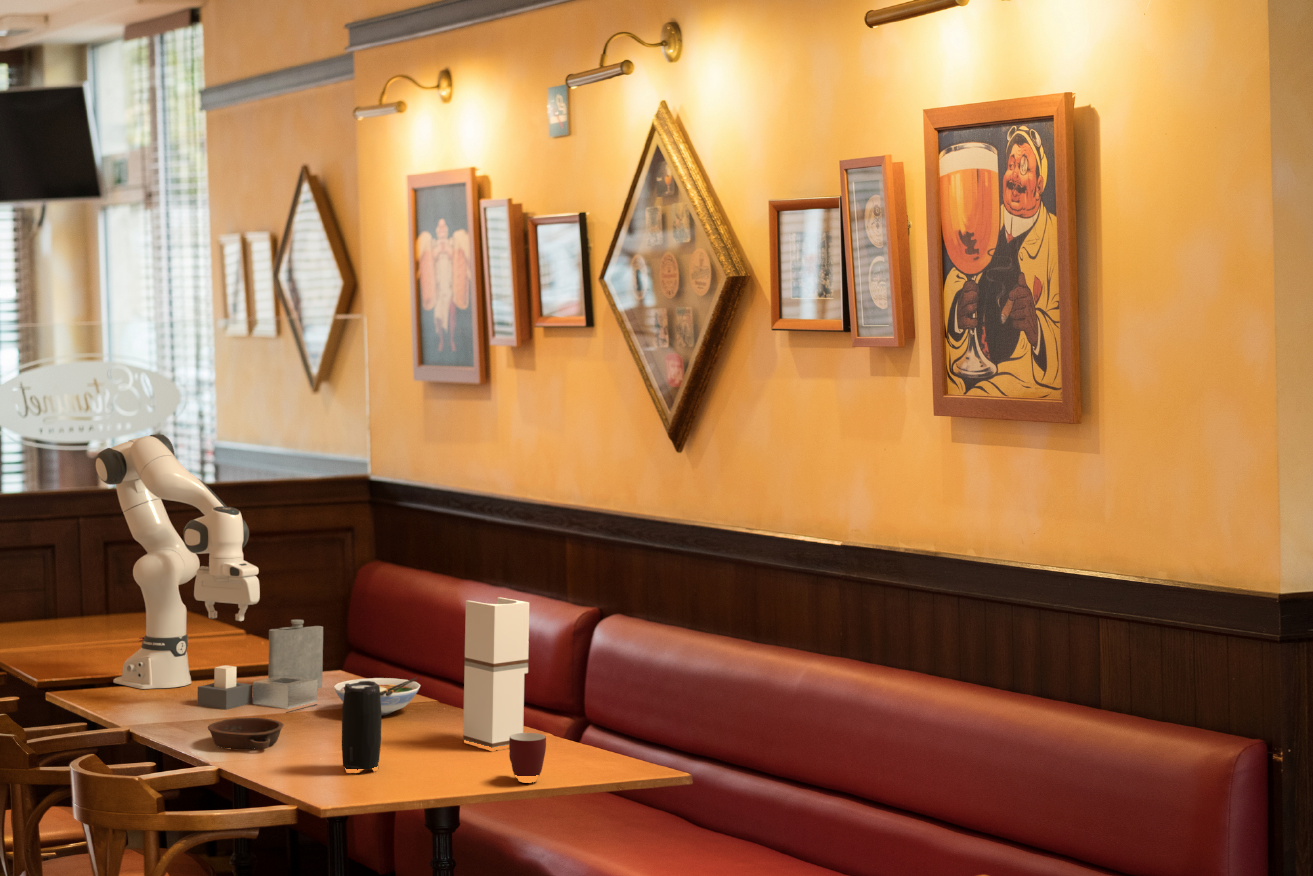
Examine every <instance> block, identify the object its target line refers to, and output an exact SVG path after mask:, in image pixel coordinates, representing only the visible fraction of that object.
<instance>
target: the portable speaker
mask: <svg viewBox="0 0 1313 876" xmlns="http://www.w3.org/2000/svg"><path fill="white" fill-rule="evenodd" d="M344 690H345V693H344V700H343V701H342V709H341V754H342V755H341V756H342V766H343V768H344V767H345V768H346V769H357V770H358V769H370V770H372V768H374V767H377V766H378V767H379V763H380V756H381V755H380V754H381V744H382V716H381V699H380V687H379V685H378V684H376V683H375V682H373V681H360V682H358V683H353V684H349V683H348V684H345V687H344ZM345 768H344V769H345Z"/></svg>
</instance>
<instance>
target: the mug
mask: <svg viewBox="0 0 1313 876" xmlns="http://www.w3.org/2000/svg"><path fill="white" fill-rule="evenodd" d="M508 750H509V755H508V757H509V761H510V763H511V769H512V772H513V775H514V776H515V775H517V776H536V775H539V776H540V775H541V773H542V770H543V766H544V760H545V757H546V750H547V736H546V735H545V734H541V733H537V732H523V733H517V734H513V735H511V736H510V739H509V749H508Z"/></svg>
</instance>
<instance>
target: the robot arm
mask: <svg viewBox="0 0 1313 876" xmlns="http://www.w3.org/2000/svg"><path fill="white" fill-rule="evenodd" d="M175 454H176V453H175V448H174V447H173V444H172V442H171V440H170V439H169V438H168V437H167V436H166V435H164V434H157V433H156V434H150V435H148V436H147V435H145V436H142V437H137V438H133V439H130V440H128V441H125V442H123V443H120V444H117V445H115V446H112V447H107V448H105V449H103V450H101V451H99V452H98V453H97V455H96V457H95V460H94V464H95V469H96V472H97V474H98V477H99V479H100V480H101V481H102V482H103V483H105V484H107V485H109V486H110V485H115V488H116V494H117V498H118V502H119V505H120V508H121V511H122V512H123V515H124V518H125V521H126V523H127V526H128V529H129V531H130V533H131V535H132V538H133V539H134V540H135V541H136V542H138V544H140V545H141V546H142V547H143V549H144V550H145V551H146V554H144V555H143V556H141V557H140V558H139V559H137V561H136V562H135V563H134V565H133V569H132V576H133V579H134V581H135V582H136V584H137V585H138V586H139V587H140V590H141V593H142V596H143V601H144V606H145V618H146V619H145V628H146V629H145V636H141V637H138V639H139V640H138V643H140V642H142V643H141V645H140V647H141V648H139V649H138V650H137V651H136V652H134V653H133V654H132V655H130V656H129V657H128V658H127V659H126V660H125V661H124V663H123V665H122V675H121V676H118V677H115V678H113V680H112V681H113V683H114V684H118V685H122V686H127V687H130V688H131V687H132V688H136V689H140V690H143V689H144V690H147V689H149V690H150V689H169V688H171V689H172V688H178V687H184V686H185V687H186V686H188V685H190V684H192V682H193V681H192V677H191V675H190V667H189V658H188V657H189V656H188V652H187V651H188V650H187V649H188V646H189V636H188V634H187V616H188V615H187V614H188V611H187V607H186V605H185V604H184V603H183V600H182V598H181V594H180V590H179V586H180V585H183V584H186V583H188V582H189V581H191V580H192V579H193V578H195V581H194V586H193V587H194V590H193V597H194V599H195V600H196V601H200V602H201V601H202V602H204V605H205V609H206V611H207V612H208V618H209V619H217V618H218V611H217V610H215V607H214V605H215V603H223V604H235V605H237V606H238V609H239V610H238V612H237V613H235V614H234V615H235V616H234V617H235V621H236V622H237V621H238V622H242V621H244V620H245V613H246V612H247V610H248V608H249V606H250V605H252V606H253V605H256V604H258V603H259V601H260V598H261V597H260V596H261V595H260V594H261V593H260V591H261V590H260V587H261V586H260V580H259V578H258V577H257V575H258V574H259V572H260V571H259V567H258V566H256V565H254V564H252V563H250V562H248V561H246V560H244V552H243V548H244V547H245V546H246V545H247V543H248V541H249V537H250V529H249V526H248V525H247V522H246V521H245V520H244V519H243V517H242V513H241V511H240V510H239V509H238V508H235V507H233V506H227V505H226V503H224V502H223V500H222V499H221V498H220V497H219V496H218V495H217V494H216V493H215V492H214V491H213V490H212V489H211V488H210V487H209V486H208V485H207V483H205V482H204V481H202V480H201V479H200V478H198V477H196V476H195V475H193V474H192V473H191V472H190V471H189V470H188V469H186V468H185V467H184V466H183V465H182V464H181V462H180V461H179V460H178V459H177V457H176V455H175ZM163 500H165V501H172V502H173V501H174V502H179V503H183V504H187V505H190V506H193V507H195V508H196V509H198V510H199V511H200V512H201V513H202V514H203V516H200V517H197V518H195V519H191V520H189V522H187V523H186V525H185V527H184V528H183V534H182V538H181V536H180V535H179V533H178V532H177V530H176V529H175V527H174V525H173V524H172V522H171V520H170V518H169V515H168V513H167V510H166V507H165V506H164V503H163ZM198 554H200V555H201V554H202V555H203V554H209V557H208V558H209V559H208V561H209V562H208V566H206V565H205V566H204V565H201V566H200V563H201V562H200V559H199V556H198Z"/></svg>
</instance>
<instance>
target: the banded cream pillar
mask: <svg viewBox="0 0 1313 876" xmlns="http://www.w3.org/2000/svg"><path fill="white" fill-rule="evenodd" d="M464 618H465V620H464V621H465V625H464V628H465V629H464V630H465V631H464V672H463V673H464V675H463V676H464V679H463V684H464V686H463V726H462V727H463V728H462V729H463V730H462V731H463V732H462V733H463V734H462V735H463V737H462V738H463V739H462V741H463V740H466V741H469V742H474V743H477V744H481V745H484V746H489V747H491V748H494V747H498V746H505V745H509V739H510V736H511V735H513V734H517V733H524V711H525V710H524V708H525V706H524V705H525V674H528V673H529V650H530V649H529V648H530V647H529V646H530V643H529V639H530V601H529V602H528V601H522V600H517V599H511V598H505V597H497V601H496V603H486V602H485V603H484V602H481V601H480V602H479V601H474V600H465V617H464Z"/></svg>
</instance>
